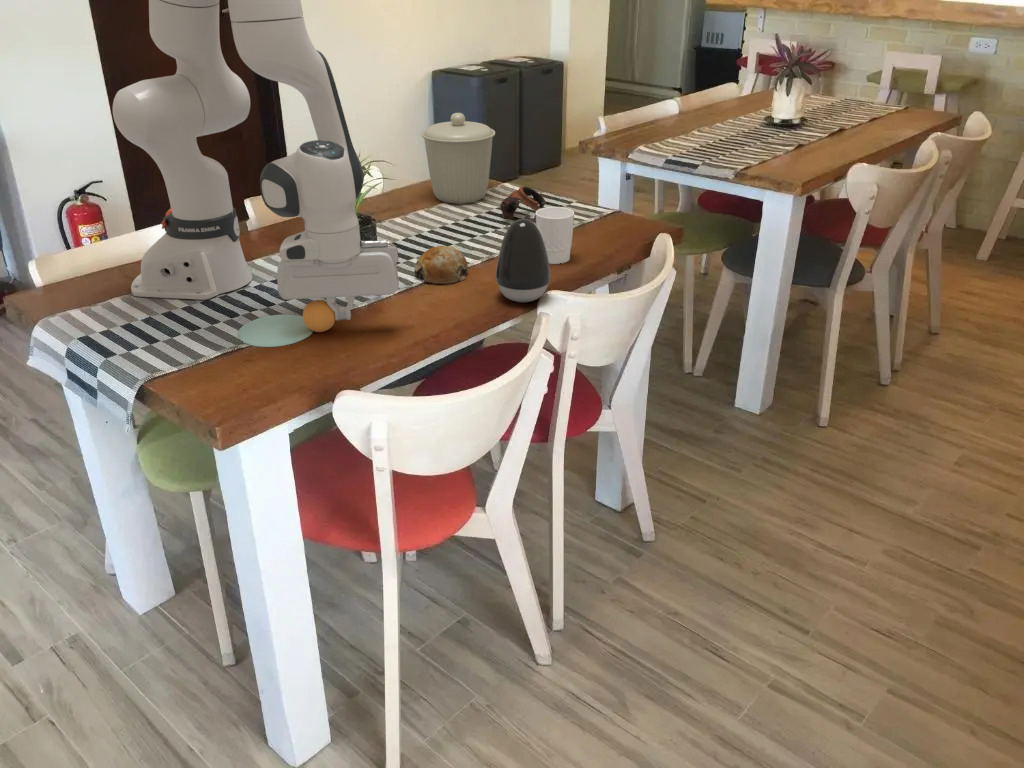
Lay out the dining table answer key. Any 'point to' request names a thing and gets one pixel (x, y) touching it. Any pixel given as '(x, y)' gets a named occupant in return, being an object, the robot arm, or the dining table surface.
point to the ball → (318, 316)
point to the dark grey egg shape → (523, 262)
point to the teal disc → (274, 331)
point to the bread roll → (441, 265)
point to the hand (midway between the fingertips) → (343, 318)
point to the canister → (459, 159)
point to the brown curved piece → (522, 194)
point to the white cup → (556, 232)
